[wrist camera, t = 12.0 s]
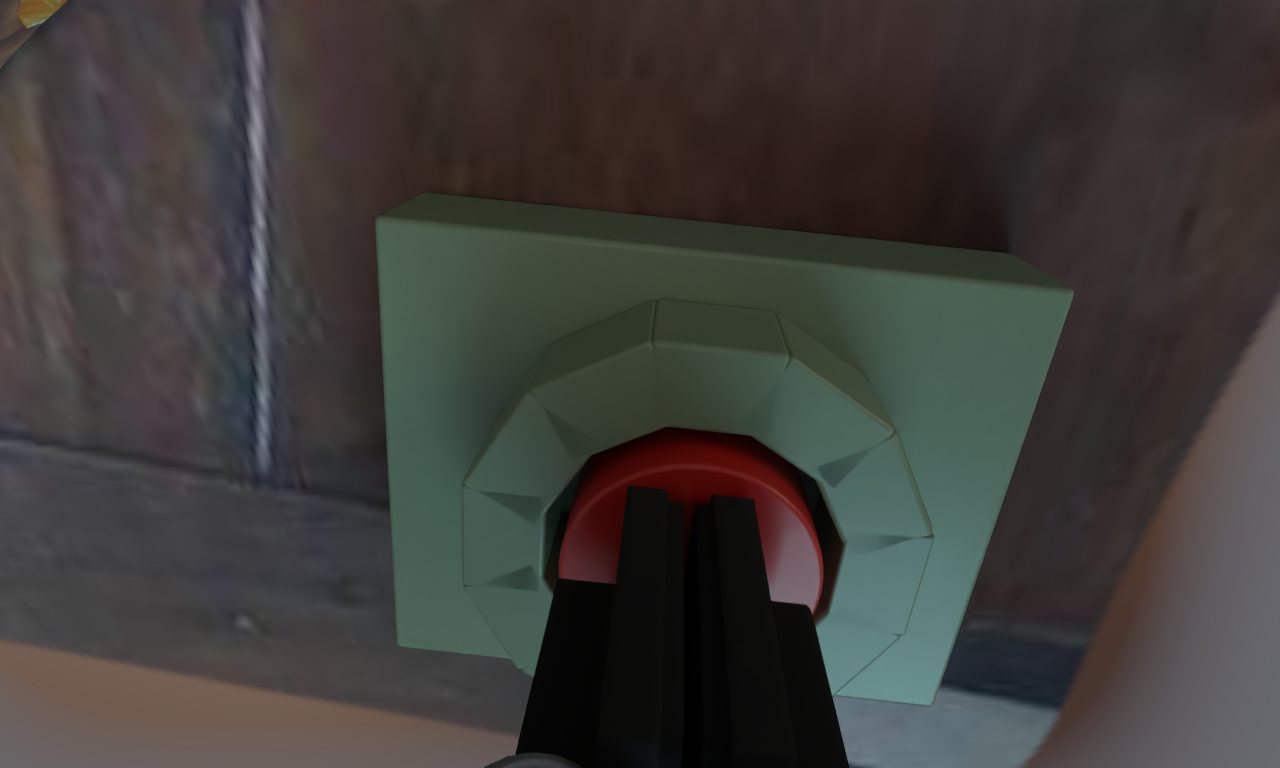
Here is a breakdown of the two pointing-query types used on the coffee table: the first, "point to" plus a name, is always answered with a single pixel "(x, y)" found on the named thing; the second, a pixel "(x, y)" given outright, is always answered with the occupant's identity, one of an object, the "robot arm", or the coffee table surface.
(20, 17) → the candy box
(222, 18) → the coffee table surface
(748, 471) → the button
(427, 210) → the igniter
